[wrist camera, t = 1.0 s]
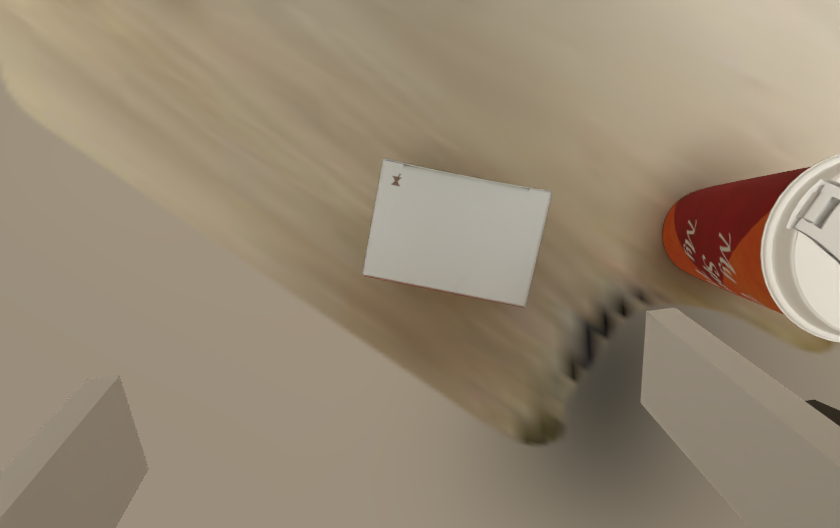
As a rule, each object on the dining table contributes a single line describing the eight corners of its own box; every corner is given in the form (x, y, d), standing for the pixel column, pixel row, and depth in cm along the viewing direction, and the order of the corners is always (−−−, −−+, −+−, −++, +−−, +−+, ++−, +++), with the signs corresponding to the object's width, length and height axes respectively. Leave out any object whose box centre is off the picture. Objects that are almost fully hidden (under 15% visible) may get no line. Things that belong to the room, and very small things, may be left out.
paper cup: (620, 251, 34) (739, 283, 20) (691, 147, 33) (867, 104, 19) (723, 316, 34) (913, 392, 20) (796, 214, 33) (1049, 219, 19)
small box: (384, 255, 35) (355, 276, 24) (400, 171, 34) (378, 155, 24) (504, 280, 34) (527, 312, 24) (522, 195, 34) (555, 190, 23)
